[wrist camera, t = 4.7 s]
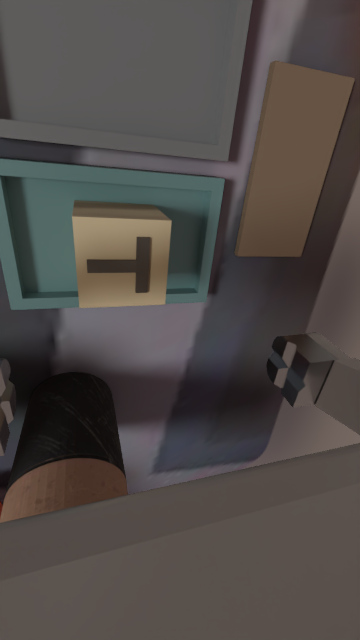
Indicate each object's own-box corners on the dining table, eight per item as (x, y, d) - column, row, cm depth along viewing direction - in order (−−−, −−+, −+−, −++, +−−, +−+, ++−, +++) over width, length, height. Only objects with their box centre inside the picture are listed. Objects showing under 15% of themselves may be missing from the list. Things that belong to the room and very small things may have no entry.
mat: (270, 62, 18) (275, 60, 18) (348, 80, 20) (355, 78, 19) (234, 254, 24) (237, 256, 23) (296, 254, 26) (300, 256, 25)
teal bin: (-13, 156, 17) (-21, 156, 15) (216, 176, 21) (225, 178, 19) (15, 300, 21) (11, 309, 20) (199, 294, 25) (206, 301, 24)
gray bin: (-70, -132, 12) (-88, -165, 10) (245, -32, 16) (259, -47, 14) (-18, 135, 16) (-26, 134, 15) (218, 160, 20) (227, 161, 19)
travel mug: (51, 356, 24) (-16, 824, 8) (130, 385, 28) (200, 737, 11) (10, 420, 26) (-115, 899, 10) (89, 438, 30) (97, 803, 13)
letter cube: (74, 200, 18) (71, 217, 14) (153, 204, 20) (172, 221, 16) (80, 275, 21) (79, 309, 17) (149, 274, 22) (165, 305, 18)
